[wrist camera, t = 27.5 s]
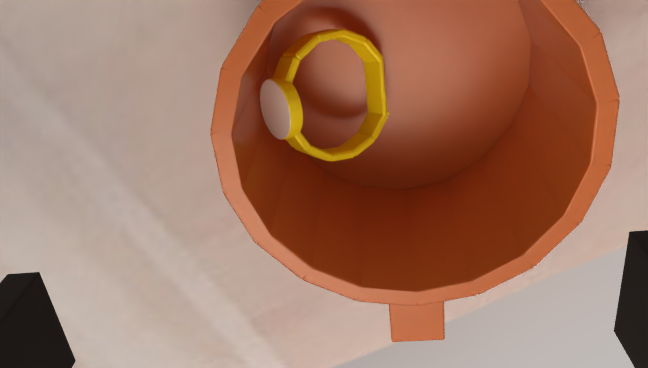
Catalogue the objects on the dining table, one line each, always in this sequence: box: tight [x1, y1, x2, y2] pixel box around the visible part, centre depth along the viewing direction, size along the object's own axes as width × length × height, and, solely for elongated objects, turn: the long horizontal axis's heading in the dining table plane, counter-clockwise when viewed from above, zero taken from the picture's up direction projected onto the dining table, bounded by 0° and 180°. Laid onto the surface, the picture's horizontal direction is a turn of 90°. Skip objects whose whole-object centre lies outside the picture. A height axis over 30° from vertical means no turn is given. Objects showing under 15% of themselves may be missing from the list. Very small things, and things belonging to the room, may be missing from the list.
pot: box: [211, 0, 619, 342], centre depth 26 cm, size 15×20×10 cm
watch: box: [260, 29, 389, 161], centre depth 28 cm, size 6×3×6 cm
